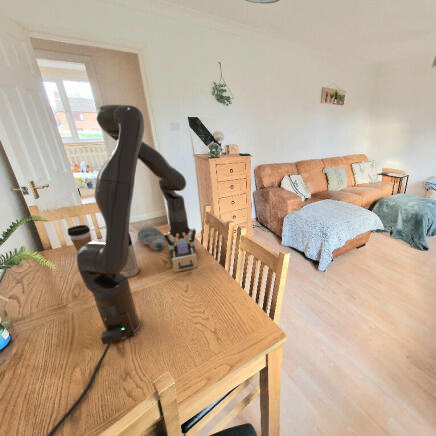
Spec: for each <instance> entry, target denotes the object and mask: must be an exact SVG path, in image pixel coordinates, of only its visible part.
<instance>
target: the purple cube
mask: <svg viewBox="0 0 436 436" xmlns="http://www.w3.org/2000/svg"><path fill="white" fill-rule="evenodd" d="M177 249H178V254H183V253H188V245H187V242H186V241H185V242H179V243H177Z"/></svg>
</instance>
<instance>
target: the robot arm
mask: <svg viewBox="0 0 436 436" xmlns="http://www.w3.org/2000/svg"><path fill="white" fill-rule="evenodd" d="M95 115H96V116H95V117H96V121H97V124H98V125H99V127H100V128H101V129H102V131H103V132H104V133H105V134H107V136H109V137H110V138H112V139H113V140H115V142H117V143H116V147H115V148H114V151H113V152H112V154H111V155H110V157H109V158H108V159H107V160H106V161H105V162H104V164H103V165H102V166H101V168H100V169H99V171H98V173H97V175H96V181H95V187H94V201H95V203H96V206H97V208H98V210H99V212H100V214H101V216H102V218H103V220H104V221H103V222H104V224H105V241H104V242H103V241H92V242H90V243H87V244H85V245H84V246H82V247H81V249H80V250H79V252H77V255H76V265H77V270H78V271H79V274H80V276H81V278H82V280H83V283H84V285H85V287H86V289H87V290H88V291H89V292H90V293H92V296H93V299H94V301H95V304H96V307H97V308H96V309H97V310H98V313H99V317H100V320H101V322H102V325H103V329H104V330H105V331H102V332H101V336H100V340H101V343H102V345H103V346H104V345H106V347H105V349H104V350H103V353H102V355H101V357H100V359H99V360H98V362H97V365H96V366H95V368H94V371H93V373H92V375H91V378H89V382H87V385H86V387H85V389H84V390H83V391H82V393H81V394H80V395H79V397H78V398H77V399H76V401H75V402H74V403H73V404H72V406H71V407H70V408H69V409H68V410H67V412H65V414H64V415H63V416H62V417H61V418H60V420H59V421H58V422H57V424H55V426H54V427H53V428H52V430H51V431H49V433H48V434H47V435H46V436H53V434H54V433H55V432H56V431H57V430H58V428H59V427H60V426H61V425H62V424H63V423H64V421H65V420H66V419H67V417H68V416H69V415H70V414H71V413H72V412H73V411H74V409H75V408H76V407H77V406H78V405H79V403H80V402H81V401H82V399H83V398H84V397H85V395H86V394H87V392H88V391H89V390H90V388H91V385H92V384H93V382H94V380H95V377H96V374H97V373H98V370H99V369H100V366H101V365H102V363H103V360H104V359H105V357H106V354H107V353H108V351H109V348H110V346H111V344H113V343H117V342H120V341H123V340H127V339H129V338H132V337H135V333H136V332H137V331H139V329H140V327H141V321H140V319H139V315H138V311H137V307H136V304H135V301H134V297H133V294H132V290H131V286H130V282H129V279H128V277H126V276H125V275H124V274H122V273H121V271H122V270H123V269H124V268H125V266H126V263H127V260H128V253H129V233H130V222H131V221H130V220H131V211H132V201H133V197H134V189H135V180H136V179H135V178H136V172H137V166H138V160H139V161H140V162H141V163H142V164H144V166H145V167H146V168H147V169H148V170H149V171H150V172H151V173H152V174H153V175H154V176H155V177H156V178H157V179H158V186H159V190H160V191H161V193H162V195H163V197H164V199H165V201H166V207H167V217H168V218H167V219H168V223H169V228H170V230H169V232H164V233H163V235H164V237H165V239H164V240H165V242H167V245H168V244H169V246H174V251H175V252H177V253H178V249H177V241H178V239H181V238H185V240H186V241H187V245H188V251H189V249H191V246H190V243H191V242H195V238H196V234H197V230H196V228H190V227H189V221H188V213H187V210H186V205H185V203H186V202H185V198H184V196H183V195H181V194H178V193H177V192H182V191H184V190H185V189H186V187H187V180H186V178H185V176H184V175H183V174H182V173H181V172H180V171H179V170H177V169H176V168H175V167H173V166H172V165H171V164H170V163H169V162H168V161H167V159H166V158H165V157H164V155H163V154H162V153H160V152H159V151H158V150H157V149H155V148H154V147H152V146H151V145H149V144H148V143H146V142H144V141H143V139H144V133H145V127H146V124H145V118H144V115H143V113H142V111H141V110H140V109H139V107H136V106H135V105H130V104H103V105H101V106H99V107H98V108H97V110H96V114H95ZM189 233H190V234H191V239H189V238H188V236H187V235H189ZM171 237H174V242H171V240H170V238H171ZM169 246H168V247H169Z"/></svg>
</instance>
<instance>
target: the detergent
mask: <svg viewBox="0 0 436 436" xmlns="http://www.w3.org/2000/svg"><path fill="white" fill-rule="evenodd" d="M137 240H138V241H140V242H142V244H145V245H149V247H150V248H151V249H153V250H155V251H159V250H162V249H163V248H164V247H165V245H166V239H165V237H164V233H162V232H161V231H160V230H159V229H157V228H156V227H153V226H145V227H142V228H141V229H140V230H139V231H138V232H137Z"/></svg>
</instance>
